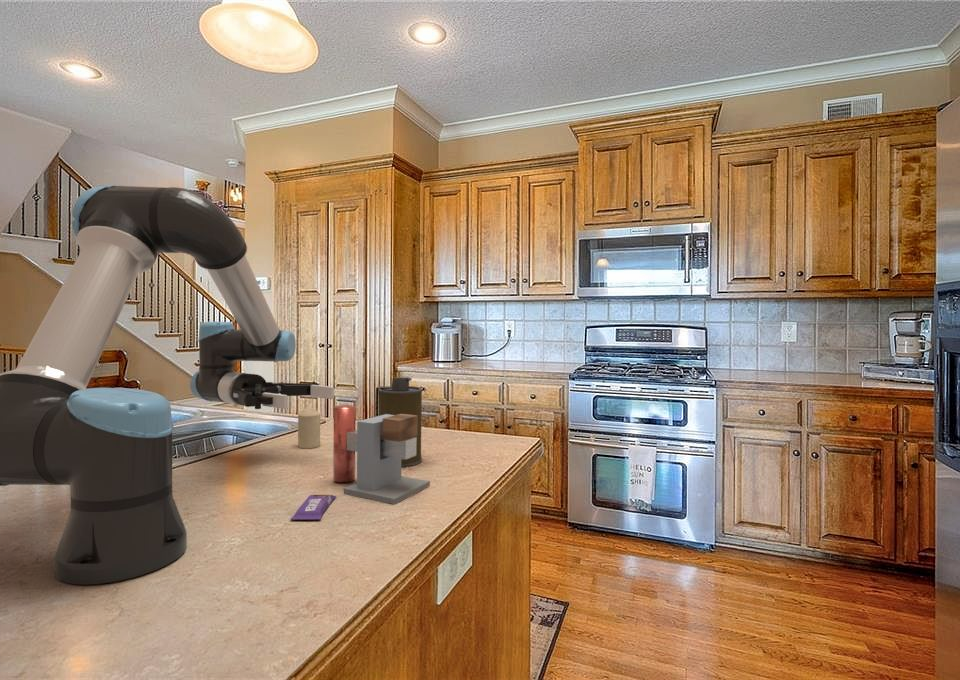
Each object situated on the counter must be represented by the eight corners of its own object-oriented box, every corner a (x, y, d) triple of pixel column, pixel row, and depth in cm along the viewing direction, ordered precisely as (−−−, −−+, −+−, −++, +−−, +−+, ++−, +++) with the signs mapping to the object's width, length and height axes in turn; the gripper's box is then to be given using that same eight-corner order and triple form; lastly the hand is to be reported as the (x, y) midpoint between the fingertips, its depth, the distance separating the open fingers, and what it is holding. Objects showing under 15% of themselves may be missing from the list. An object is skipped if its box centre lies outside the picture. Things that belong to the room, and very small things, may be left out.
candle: (324, 445, 137) (324, 408, 137) (307, 449, 133) (307, 411, 132) (310, 442, 140) (310, 406, 140) (293, 446, 136) (293, 408, 135)
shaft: (404, 495, 98) (404, 416, 98) (328, 479, 107) (329, 407, 106) (417, 488, 102) (417, 413, 102) (343, 474, 111) (343, 404, 110)
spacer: (399, 441, 97) (399, 420, 97) (382, 439, 99) (382, 418, 99) (417, 435, 103) (417, 415, 103) (400, 433, 105) (401, 413, 104)
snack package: (320, 513, 86) (289, 513, 86) (320, 525, 86) (289, 525, 86) (337, 490, 98) (310, 490, 98) (337, 500, 98) (310, 500, 98)
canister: (425, 456, 128) (426, 375, 127) (416, 468, 118) (417, 380, 117) (382, 454, 129) (383, 374, 128) (369, 466, 119) (370, 379, 118)
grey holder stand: (394, 504, 95) (394, 428, 94) (343, 493, 100) (343, 421, 100) (429, 486, 105) (430, 417, 105) (382, 477, 111) (382, 412, 110)
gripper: (285, 397, 133) (349, 405, 124) (194, 413, 111) (263, 425, 101) (285, 368, 133) (349, 374, 123) (193, 379, 111) (262, 387, 101)
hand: (310, 397), depth 112 cm, fingers open, 13 cm apart
